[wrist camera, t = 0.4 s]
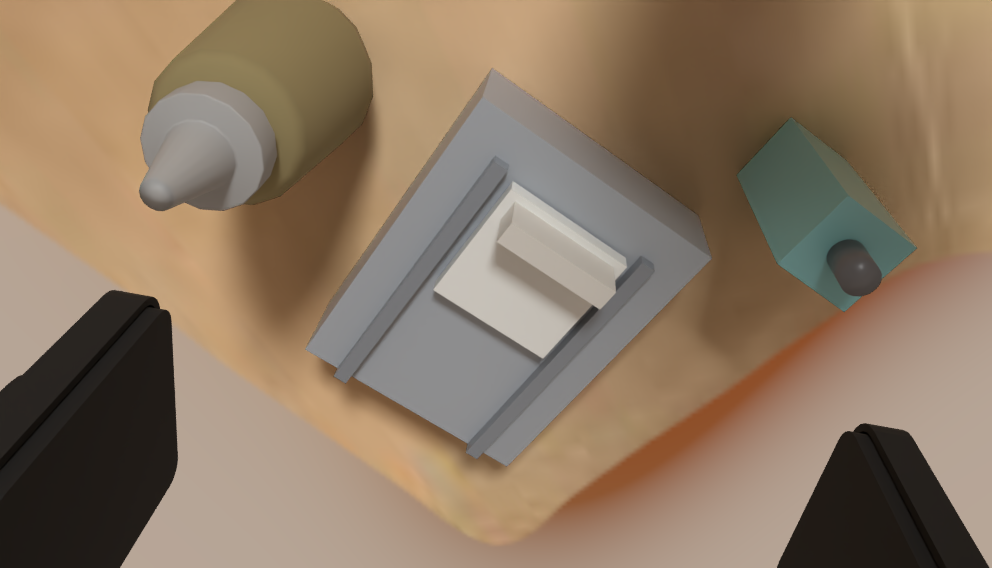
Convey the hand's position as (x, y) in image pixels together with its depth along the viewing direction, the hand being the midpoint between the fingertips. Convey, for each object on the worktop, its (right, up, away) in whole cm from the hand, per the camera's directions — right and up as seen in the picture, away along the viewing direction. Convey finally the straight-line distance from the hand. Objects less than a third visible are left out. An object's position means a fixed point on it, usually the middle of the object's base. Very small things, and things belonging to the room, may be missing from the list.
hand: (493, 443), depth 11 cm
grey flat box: (0, +3, +36) cm, 36 cm away
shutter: (+2, +3, +30) cm, 30 cm away
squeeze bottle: (-10, +14, +31) cm, 35 cm away
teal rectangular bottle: (+16, +8, +31) cm, 36 cm away
